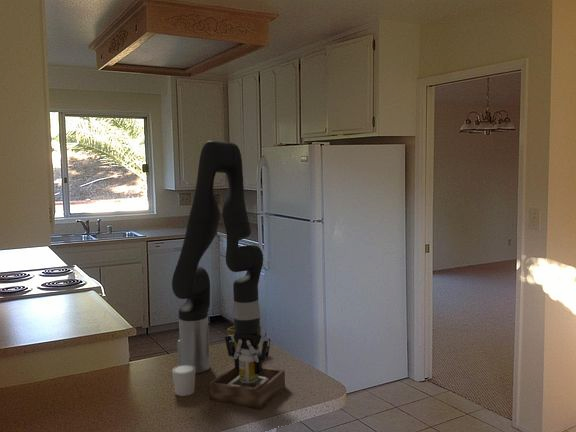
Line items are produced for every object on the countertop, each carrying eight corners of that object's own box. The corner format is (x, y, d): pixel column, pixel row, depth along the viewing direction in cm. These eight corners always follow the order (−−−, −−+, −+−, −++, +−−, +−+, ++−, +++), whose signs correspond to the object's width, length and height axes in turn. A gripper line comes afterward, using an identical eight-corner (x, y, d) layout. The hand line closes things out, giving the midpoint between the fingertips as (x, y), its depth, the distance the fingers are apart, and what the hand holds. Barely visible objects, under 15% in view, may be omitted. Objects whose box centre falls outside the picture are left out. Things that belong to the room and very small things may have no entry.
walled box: (210, 399, 155) (209, 383, 154) (238, 378, 169) (237, 362, 169) (260, 409, 148) (260, 392, 148) (285, 386, 163) (284, 370, 162)
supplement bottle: (259, 376, 161) (258, 344, 160) (256, 384, 156) (255, 351, 155) (241, 376, 162) (240, 344, 160) (238, 383, 156) (236, 350, 155)
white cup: (201, 388, 163) (200, 366, 162) (187, 398, 156) (186, 374, 156) (182, 385, 165) (181, 362, 165) (168, 394, 159) (167, 371, 158)
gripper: (218, 316, 156) (220, 373, 158) (263, 321, 150) (265, 380, 152) (231, 309, 163) (233, 364, 165) (274, 313, 157) (276, 370, 159)
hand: (248, 371), depth 158 cm, fingers closed on supplement bottle, 5 cm apart
